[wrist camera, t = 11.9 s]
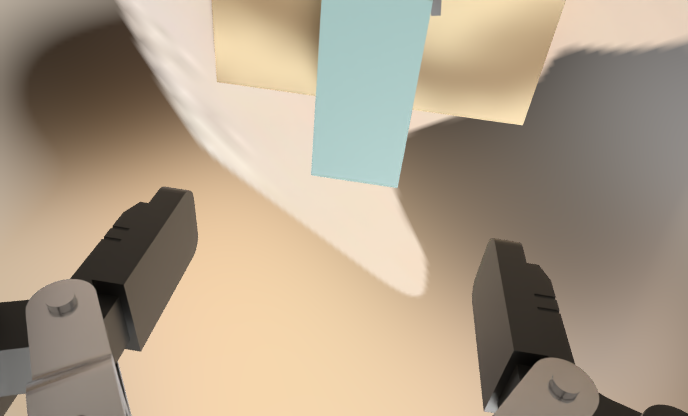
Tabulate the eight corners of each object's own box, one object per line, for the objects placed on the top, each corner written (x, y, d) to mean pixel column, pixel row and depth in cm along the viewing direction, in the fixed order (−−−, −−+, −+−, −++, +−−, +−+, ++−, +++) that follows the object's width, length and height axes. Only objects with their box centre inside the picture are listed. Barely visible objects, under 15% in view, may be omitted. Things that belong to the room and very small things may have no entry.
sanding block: (342, -43, 24) (322, -14, 20) (431, -32, 24) (433, 0, 19) (329, 121, 30) (311, 175, 25) (401, 131, 30) (397, 187, 25)
